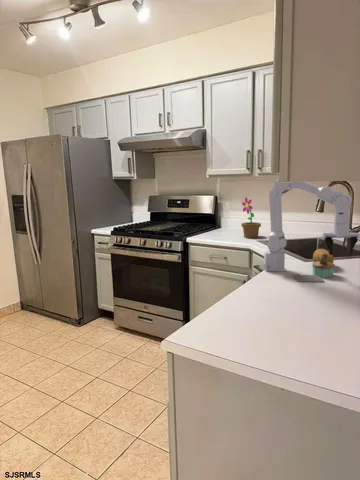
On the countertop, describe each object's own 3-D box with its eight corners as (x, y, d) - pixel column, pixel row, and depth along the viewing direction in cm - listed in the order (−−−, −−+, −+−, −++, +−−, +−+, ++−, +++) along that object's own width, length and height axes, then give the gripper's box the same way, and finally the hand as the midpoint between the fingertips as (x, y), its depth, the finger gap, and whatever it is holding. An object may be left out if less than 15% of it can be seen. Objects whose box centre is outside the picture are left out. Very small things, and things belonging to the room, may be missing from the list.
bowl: (315, 276, 143) (316, 268, 142) (311, 271, 150) (311, 263, 150) (335, 277, 142) (335, 268, 141) (329, 272, 149) (329, 263, 149)
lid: (314, 268, 142) (315, 256, 141) (311, 263, 150) (311, 251, 149) (336, 269, 140) (337, 256, 139) (331, 263, 148) (332, 252, 147)
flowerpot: (237, 236, 247) (237, 197, 241) (252, 234, 253) (252, 196, 248) (249, 239, 234) (249, 197, 229) (264, 237, 241) (265, 196, 235)
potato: (315, 270, 153) (316, 253, 152) (309, 262, 167) (310, 247, 165) (337, 270, 151) (338, 253, 150) (329, 262, 165) (330, 247, 163)
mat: (297, 281, 137) (297, 281, 137) (292, 275, 145) (292, 274, 145) (324, 282, 135) (324, 281, 135) (318, 275, 144) (318, 275, 144)
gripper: (326, 224, 133) (324, 256, 136) (364, 224, 131) (361, 256, 134) (321, 222, 140) (319, 252, 142) (357, 221, 138) (354, 252, 141)
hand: (339, 254), depth 139 cm, fingers open, 7 cm apart
